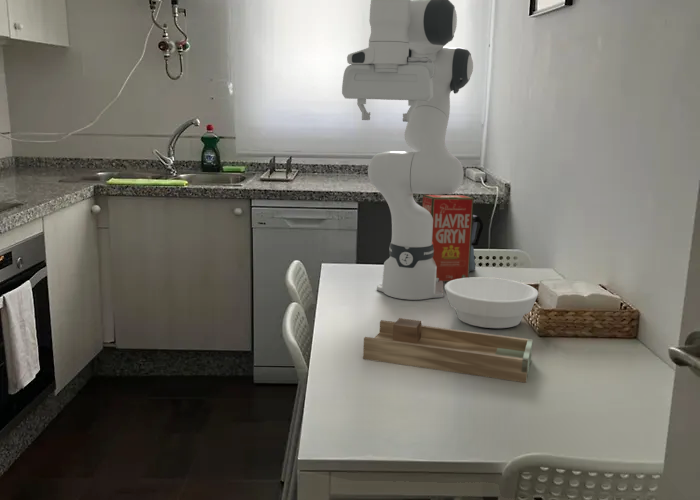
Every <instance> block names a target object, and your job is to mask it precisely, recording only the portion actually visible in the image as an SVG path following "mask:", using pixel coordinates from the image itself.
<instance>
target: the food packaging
mask: <svg viewBox="0 0 700 500" xmlns="http://www.w3.org/2000/svg"><path fill="white" fill-rule="evenodd" d="M474 199H475V198H474V197H472V196H468V195H463V194H462V195H460V194H459V195H449V194H440V195H433V194H422V203H421V204H422V206H421V207H423V208H425V209H426V210H428V211H429V212H430V214H431V215H432V217H433V234H432V242H433V248H434V256H433V259H434V261H435V263H436V266H437V270H436V278H439V281H443V283H447V282H449V281H451V280H455V279H460V278H469V277H470V271H469V267H470V252H471V235H472V219H473V215H474V202H475V201H474Z"/></svg>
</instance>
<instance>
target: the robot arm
mask: <svg viewBox="0 0 700 500" xmlns="http://www.w3.org/2000/svg"><path fill="white" fill-rule="evenodd" d="M369 6H370V7H369V19H368V20H369V26H370V35H369V38H368V47H366V48H364V49H361V50H357V51H355V52H351V53H349V54H348V55H347V57H346V62H347V64H349V65H348V66H346V68H345V69H344V70H343V71H344V72H343V77H342V78H343V79H342V85H341V94H342V96H343V97H344V99H349V100H351V99H352V100H357V102H356V103H357V106H358V108H359V110H360V113H361V120H362V121H370V120H371V117H370V116H371V112H370V111H367V109H366V106H365V105H367V100H386V101H387V100H389V101H407V102H408V103H407V105H408V106H409V108H408V110H407V111H406V113H404V112H403V113H402V122H405V123H407V124H406V127H405V130H404V140H405V143H406V144H407V146H408V147H409V148H410V149H411V150H412V151H401V150H400V151H399V150H397V151H396V150H392V151H383V152H378V153H376V154H374V155H373V157H371V160H369V161H370V162H369V164H368V167H367V176H368V180H369V182H370V184H371V185H372V186H373V187H374V188H375V189H376V190H377V191H378V192H379V193H380V195H382V197H383V199H385V201H386V203H387V204H388V207H389V211H390V217H391V242H390V243H389V258H387V259H386V260H385V261H384V263H383V272H382V281H381V284H379V285H377V286H376V290H377V291H379V292H382V293H384V294H385V295H386V296H389V297H392V298H395V299H400V300H401V299H402V300H413V301H414V300H415V301H416V300H417V301H418V300H427V299H432V298H435V299H436V298H443V297H444V282H443V281H439V278H436V270H437V266H436V263H435V261H434V259H433V256H434V248H433V242H432V234H433V217H432V215H431V214H430V212H429V211H428V210H426V209H425V208H423V207H422V206H421V205H420V204H419V203H417V202H416V201H415V199H414V194H420V195H449V194H453V193H455V192H456V191H457V190H458V189H459V188H460V187H461V186H462V183H463V179H464V175H465V174H464V167H463V164H462V163H461V161H460V160H459V159H458V157H456V156H455V155H453V153H451V152H450V151H449V149H448V148H447V146H446V142H445V141H446V134H447V128H448V124H449V118H450V114H451V113H450V112H451V99H450V95H451V92H453V93H454V94H455V95H456V94H458V93H459V91H460V90H461V89H462V88H464V87H465V86H467V84H468V83H469V81H470V79H471V77H472V74H473V71H474V61H473V58H472V53H471V51H469V50H468V49H467V48H463V47H458V46H456V47H449V46H446V45H447V44H449V43H450V42H452V41H453V39H454V38H455V32H456V30H457V25H458V17H457V11H456V8H455V7H456V6H455V5H454V4H453V3H452V2H451V1H450V0H370V5H369Z"/></svg>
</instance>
